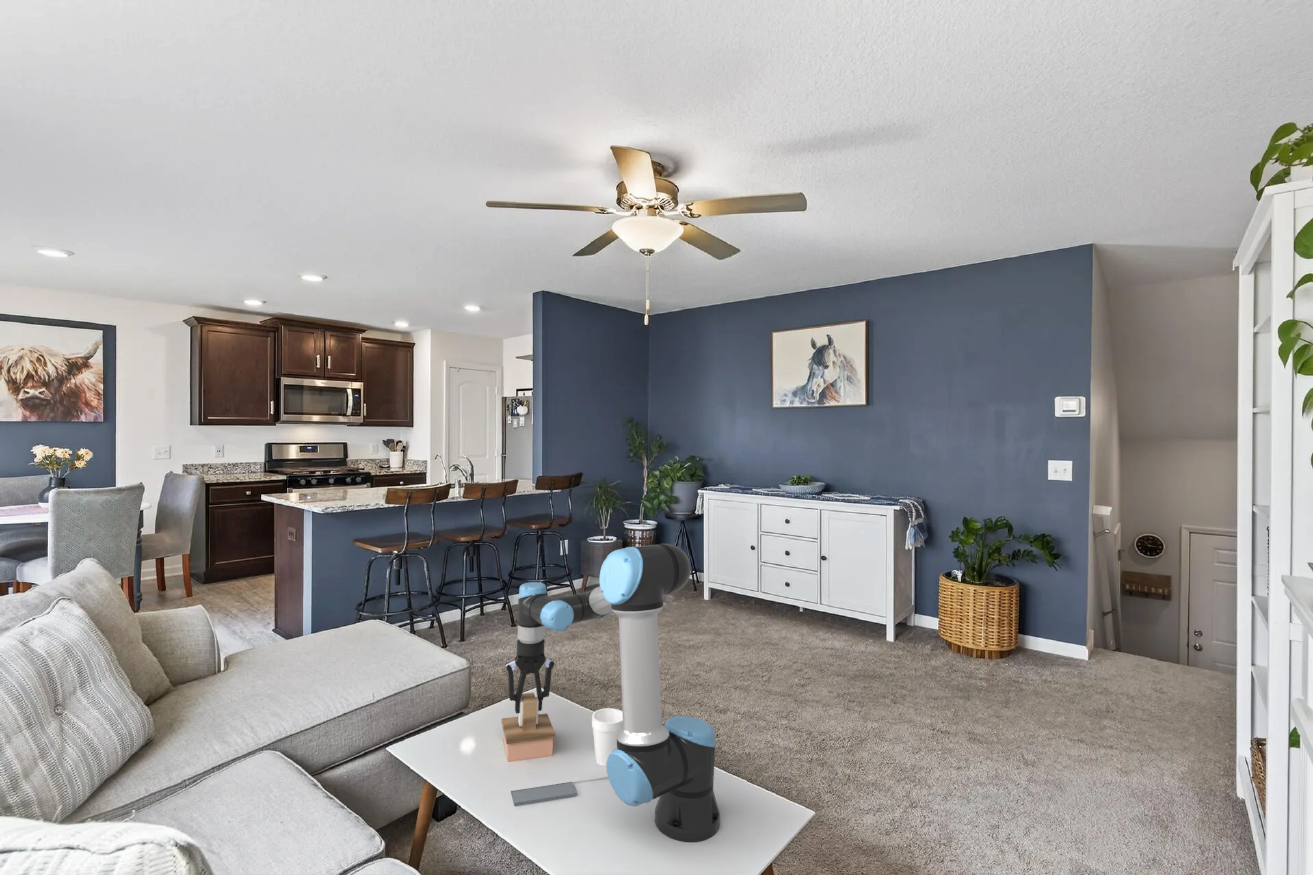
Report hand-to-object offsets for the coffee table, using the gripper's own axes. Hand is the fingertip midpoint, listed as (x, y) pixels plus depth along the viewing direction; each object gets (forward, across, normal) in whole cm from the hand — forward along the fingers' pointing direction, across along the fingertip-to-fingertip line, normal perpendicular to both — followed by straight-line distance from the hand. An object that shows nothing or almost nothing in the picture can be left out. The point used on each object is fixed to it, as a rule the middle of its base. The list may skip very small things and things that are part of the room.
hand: (528, 722), depth 176 cm
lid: (+2, 0, 0) cm, 2 cm away
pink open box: (+8, 0, 0) cm, 8 cm away
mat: (+8, -1, +16) cm, 18 cm away
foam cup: (+8, -20, +12) cm, 25 cm away
